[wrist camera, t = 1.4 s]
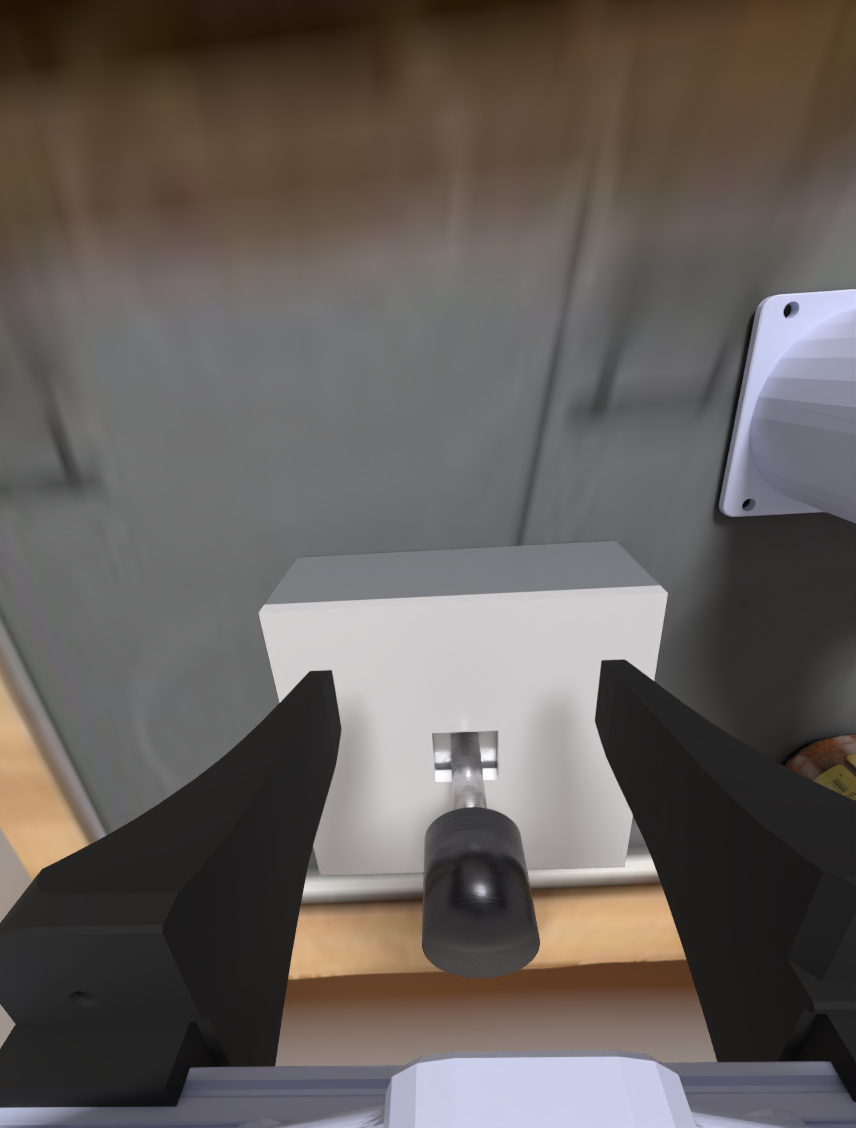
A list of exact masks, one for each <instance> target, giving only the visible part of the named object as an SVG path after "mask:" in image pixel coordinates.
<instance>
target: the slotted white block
mask: <svg viewBox="0 0 856 1128" xmlns="http://www.w3.org/2000/svg"><path fill="white" fill-rule="evenodd" d="M667 596H668V593H667V592H666V591H665V590H664V589H663V588H662V587H661V586H660V585H659V584H658V583H657V582H656V581H655V580H654V579H653V578H652V577H651V576H650V575H649V574H648V573H647V572H646V571H645V570H644V569H643V568H642V567H641V566H640V565H639V564H638V563H637V562H636V561H635V560H634V559H633V558H632V557H631V556H630V555H629V554H628V553H627V552H626V551H625V550H624V549H623V548H622V547H621V546H620V545H619V544H618V543H617V542H616V541H602V542H583V543H564V544H545V545H526V546H507V547H488V548H469V549H450V550H431V551H412V552H393V553H374V554H355V555H336V556H317V557H298V558H297V559H296V560H295V562H294V563H293V564H292V566H291V567H290V569H289V570H288V572H287V573H286V574H285V576H284V577H283V579H282V580H281V582H280V583H279V584H278V586H277V587H276V589H275V590H274V592H273V593H272V595H271V596H270V597H269V599H268V600H267V602H266V603H265V605H264V606H263V607H262V609H261V610H260V612H259V617H260V621H261V625H262V630H263V634H264V638H265V642H266V647H267V651H268V655H269V659H270V664H271V668H272V672H273V676H274V681H275V685H276V689H277V693H278V698H279V702H281V701H282V700H283V699H284V698H285V697H286V696H287V695H288V694H289V692H290V691H291V690H292V689H293V688H294V687H295V686H296V685H297V684H298V683H299V682H300V681H301V680H302V679H303V678H304V677H305V675H306V674H307V673H308V672H309V671H322V670H332V673H333V679H334V685H335V691H336V697H337V703H338V710H339V716H340V722H341V728H342V731H341V737H340V744H339V750H338V756H337V762H336V767H335V771H334V774H333V778H332V781H331V785H330V788H329V792H328V795H327V799H326V802H325V806H324V809H323V813H322V816H321V820H320V823H319V826H318V830H317V833H316V837H315V840H314V844H313V847H314V851H315V855H316V859H317V864H318V868H319V872H320V875H353V874H390V873H424V838H425V834H426V831H427V829H428V827H429V826H430V825H431V824H432V822H433V821H435V820H436V819H437V818H438V817H440V816H441V815H443V814H445V813H447V812H450V811H452V810H453V792H452V770H435V757H434V744H433V733H453V732H479V731H497V768H484V769H483V778H484V786H485V795H486V804H487V809H492V810H495V811H498V812H500V813H502V814H504V815H506V816H507V817H509V818H510V819H511V820H512V821H513V822H514V823H515V824H516V825H517V827H518V829H519V831H520V834H521V839H522V844H523V850H524V856H525V861H526V867H527V870H538V869H575V868H612V867H625V861H626V855H627V848H628V842H629V836H630V829H631V823H632V817H633V814H632V812H631V810H630V808H629V806H628V804H627V801H626V799H625V797H624V795H623V793H622V791H621V789H620V787H619V784H618V782H617V780H616V778H615V776H614V773H613V771H612V769H611V767H610V765H609V762H608V760H607V758H606V755H605V752H604V749H603V746H602V743H601V740H600V737H599V734H598V730H597V727H596V724H595V713H596V704H597V696H598V687H599V678H600V669H601V660H621V659H625V660H626V661H628V662H629V663H631V664H632V665H633V666H635V667H636V668H637V669H639V670H640V671H641V672H643V673H644V674H645V675H647V676H648V677H649V678H650V679H652V680H653V681H654V678H655V672H656V665H657V659H658V653H659V646H660V640H661V634H662V628H663V621H664V615H665V609H666V602H667Z"/></svg>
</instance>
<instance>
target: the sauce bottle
mask: <svg viewBox="0 0 856 1128" xmlns="http://www.w3.org/2000/svg"><path fill="white" fill-rule="evenodd" d="M785 767H786V768H788V769H790V770H792V771H794V772H796V773H798V774H800V775H802V776H804V777H806V778H808V779H810V780H812V781H814V782H816V783H818V784H820V785H822V786H824V787H827V788H829V789H831V790H833V791H835V792H837V793H840V794H842V795H844V796H846V797H848V798H851V799H853V800H855V801H856V734H848V735H841V736H836V737H830V738H825V739H822V740H819V741H815V742H813V743H812V744H810V745H809V746H807V747H805V748H803V749H801V750H800V751H799V752H798V753H797V754H795V755H794V756H793V757H792V758H791V759H789V760H788V762H787V763H786V764H785Z"/></svg>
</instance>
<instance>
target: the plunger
mask: <svg viewBox="0 0 856 1128" xmlns="http://www.w3.org/2000/svg"><path fill="white" fill-rule="evenodd" d="M433 744H434V757H435V770H452V792H453V810H452V811H450V812H447V813H445V814H443V815H441V816H440V817H438V818H437V819H436V820H435V821H433V822H432V824H431V825H430V826H429V827H428V829H427V831H426V834H425V838H424V882H423V927H422V948H423V952H424V954H425V956H426V957H427V959H428V960H429V961H430V962H431V963H432V964H434V965H435V966H436V967H438V968H439V969H441V970H443V971H445V972H448V973H451V974H453V975H457V976H461V977H468V978H492V977H498V976H503V975H507V974H510V973H512V972H515V971H517V970H519V969H521V968H523V967H524V966H526V965H527V964H528V963H530V962H531V961H532V960H533V959H534V957H535V956H536V954H537V953H538V950H539V946H540V938H539V933H538V927H537V922H536V916H535V911H534V905H533V900H532V894H531V889H530V883H529V878H528V872H527V867H526V861H525V856H524V850H523V844H522V839H521V834H520V831H519V829H518V827H517V825H516V824H515V823H514V822H513V821H512V820H511V819H510V818H509V817H507V816H506V815H504V814H502V813H500V812H498V811H495V810H492V809H487V804H486V795H485V786H484V778H483V769H484V768H497V731H479V732H453V733H433Z"/></svg>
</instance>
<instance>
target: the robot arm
mask: <svg viewBox="0 0 856 1128" xmlns="http://www.w3.org/2000/svg"><path fill="white" fill-rule="evenodd" d="M788 303H789V304H790V305H791V312H790V314H789V316H788V317H787V318H785V316H784V315H783V310H784V308H785V306H786V305H787V304H788ZM747 499H750V502H749V504H748V506H746V507H745V508H742V505H743V503H744V501H746V500H747ZM719 509H720V511H721V512H722V513H724V514H725V515H727V516H730V517H742V516H760V515H779V514H797V513H816V512H827V513H830V514H832V515H835V516H838V517H840V518H843V519H845V520H848V521H850V522H853V523H856V289H853V290H839V291H825V292H811V293H796V294H782V295H775V296H771V297H767V298H766V299H764V300H763V301H762V302H761V303H760V304H759V306H758V307H757V310H756V313H755V318H754V323H753V329H752V334H751V339H750V344H749V349H748V355H747V360H746V365H745V370H744V376H743V381H742V386H741V391H740V397H739V402H738V407H737V412H736V418H735V423H734V428H733V433H732V439H731V444H730V449H729V454H728V460H727V465H726V470H725V475H724V480H723V486H722V491H721V496H720V501H719ZM595 724H596V727H597V730H598V734H599V737H600V740H601V743H602V746H603V749H604V752H605V755H606V758H607V760H608V762H609V765H610V767H611V769H612V771H613V773H614V776H615V778H616V780H617V782H618V784H619V787H620V789H621V791H622V793H623V795H624V797H625V799H626V801H627V804H628V806H629V808H630V810H631V812H632V814H633V816H634V819H635V821H636V823H637V825H638V827H639V829H640V831H641V834H642V836H643V838H644V840H645V842H646V845H647V847H648V850H649V852H650V854H651V857H652V859H653V862H654V865H655V868H656V871H657V873H658V876H659V879H660V882H661V885H662V887H663V890H664V893H665V896H666V899H667V901H668V904H669V907H670V910H671V913H672V916H673V919H674V922H675V925H676V928H677V931H678V934H679V937H680V940H681V943H682V946H683V949H684V952H685V956H686V959H687V962H688V965H689V968H690V971H691V975H692V978H693V981H694V984H695V988H696V991H697V994H698V997H699V1000H700V1004H701V1007H702V1010H703V1014H704V1017H705V1021H706V1024H707V1027H708V1031H709V1034H710V1037H711V1041H712V1044H713V1048H714V1051H715V1055H716V1058H717V1062H704V1063H703V1062H698V1063H662V1062H660V1061H658V1060H656V1059H654V1058H653V1057H651V1056H649V1055H647V1054H640V1053H632V1052H625V1051H617V1050H597V1051H596V1050H588V1051H586V1050H585V1051H492V1052H449V1053H442V1054H435V1055H429V1056H422V1057H419V1058H417V1059H416V1060H414V1061H412V1062H410V1063H408V1064H407V1065H383V1066H285V1067H284V1066H278V1067H275V1063H276V1056H277V1049H278V1042H279V1035H280V1027H281V1021H282V1013H283V1007H284V1001H285V994H286V987H287V982H288V975H289V969H290V962H291V956H292V950H293V945H294V939H295V933H296V927H297V922H298V916H299V910H300V905H301V899H302V894H303V889H304V884H305V878H306V873H307V868H308V863H309V859H310V855H311V851H312V847H313V844H314V840H315V837H316V833H317V830H318V826H319V823H320V820H321V816H322V813H323V809H324V806H325V802H326V799H327V795H328V792H329V788H330V785H331V781H332V778H333V774H334V771H335V767H336V762H337V756H338V750H339V744H340V737H341V731H342V728H341V722H340V716H339V710H338V703H337V697H336V691H335V685H334V679H333V673H332V670H322V671H309V672H308V673H307V674H306V675H305V677H304V678H303V679H302V680H301V681H300V682H299V683H298V684H297V685H296V686H295V687H294V688H293V689H292V690H291V691H290V692H289V694H288V695H287V696H286V697H285V698H284V699H283V700H282V701H281V702H280V703H279V704H278V705H277V706H276V707H275V708H274V709H273V710H272V711H271V712H270V714H269V715H268V716H267V717H266V718H265V719H264V720H263V721H262V722H261V723H260V724H259V725H258V726H257V727H256V728H254V729H253V730H252V731H251V732H250V733H249V734H248V735H247V736H246V737H245V738H244V739H243V740H242V741H241V742H240V743H238V744H237V745H236V746H235V747H234V748H233V749H232V750H231V751H229V752H228V753H227V754H226V755H225V756H223V757H222V758H221V759H220V760H219V761H217V762H216V763H215V764H214V765H212V766H211V767H210V768H209V769H207V770H206V771H205V772H203V773H202V774H201V775H200V776H198V777H197V778H196V779H194V780H193V781H191V782H190V783H188V784H187V785H186V786H184V787H183V788H181V789H180V790H178V791H177V792H176V793H174V794H173V795H171V796H170V797H168V798H167V799H165V800H164V801H163V802H161V803H160V804H158V805H157V806H155V807H154V808H152V809H150V810H149V811H147V812H146V813H144V814H142V815H141V816H139V817H138V818H136V819H134V820H133V821H131V822H129V823H128V824H126V825H124V826H122V827H121V828H119V829H117V830H116V831H114V832H112V833H110V834H109V835H107V836H105V837H103V838H101V839H100V840H98V841H96V842H94V843H92V844H90V845H88V846H86V847H84V848H83V849H81V850H79V851H77V852H75V853H73V854H71V855H69V856H67V857H65V858H63V859H61V860H60V861H58V862H56V863H54V864H52V865H50V866H48V867H46V868H43V869H42V870H41V871H40V873H39V874H38V875H37V876H36V877H35V879H34V880H33V881H32V883H31V884H30V885H29V887H28V888H27V889H26V890H25V892H24V893H23V894H22V896H21V897H20V898H19V900H18V901H17V902H16V903H15V905H14V906H13V907H12V909H11V910H10V911H9V912H8V914H7V915H6V916H5V918H4V919H3V920H2V921H1V923H0V1004H1V1005H2V1007H3V1008H4V1009H5V1011H6V1012H7V1013H8V1015H9V1016H10V1017H11V1018H12V1020H13V1021H14V1022H15V1024H16V1025H15V1026H14V1028H13V1030H12V1031H11V1033H10V1034H9V1036H8V1038H7V1039H6V1041H5V1042H4V1044H3V1045H2V1047H1V1049H0V1128H856V801H855V800H853V799H851V798H848V797H846V796H844V795H842V794H840V793H837V792H835V791H833V790H831V789H829V788H827V787H824V786H822V785H820V784H818V783H816V782H814V781H812V780H810V779H808V778H806V777H804V776H802V775H800V774H798V773H796V772H794V771H792V770H790V769H788V768H786V767H785V766H783V765H781V764H779V763H777V762H775V761H773V760H772V759H770V758H768V757H766V756H765V755H763V754H761V753H759V752H758V751H756V750H754V749H752V748H751V747H749V746H747V745H745V744H744V743H742V742H740V741H739V740H737V739H736V738H734V737H732V736H731V735H729V734H728V733H726V732H725V731H723V730H722V729H720V728H719V727H717V726H716V725H714V724H712V723H711V722H709V721H708V720H706V719H705V718H703V717H702V716H701V715H699V714H698V713H696V712H695V711H693V710H692V709H691V708H689V707H688V706H686V705H685V704H684V703H682V702H681V701H680V700H678V699H677V698H676V697H674V696H673V695H672V694H670V693H669V692H668V691H666V690H665V689H664V688H662V687H661V686H660V685H658V684H657V683H656V682H654V681H653V680H652V679H650V678H649V677H648V676H647V675H645V674H644V673H643V672H641V671H640V670H639V669H637V668H636V667H635V666H633V665H632V664H631V663H629V662H628V661H626V660H625V659H621V660H601V669H600V678H599V687H598V696H597V704H596V713H595Z"/></svg>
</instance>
